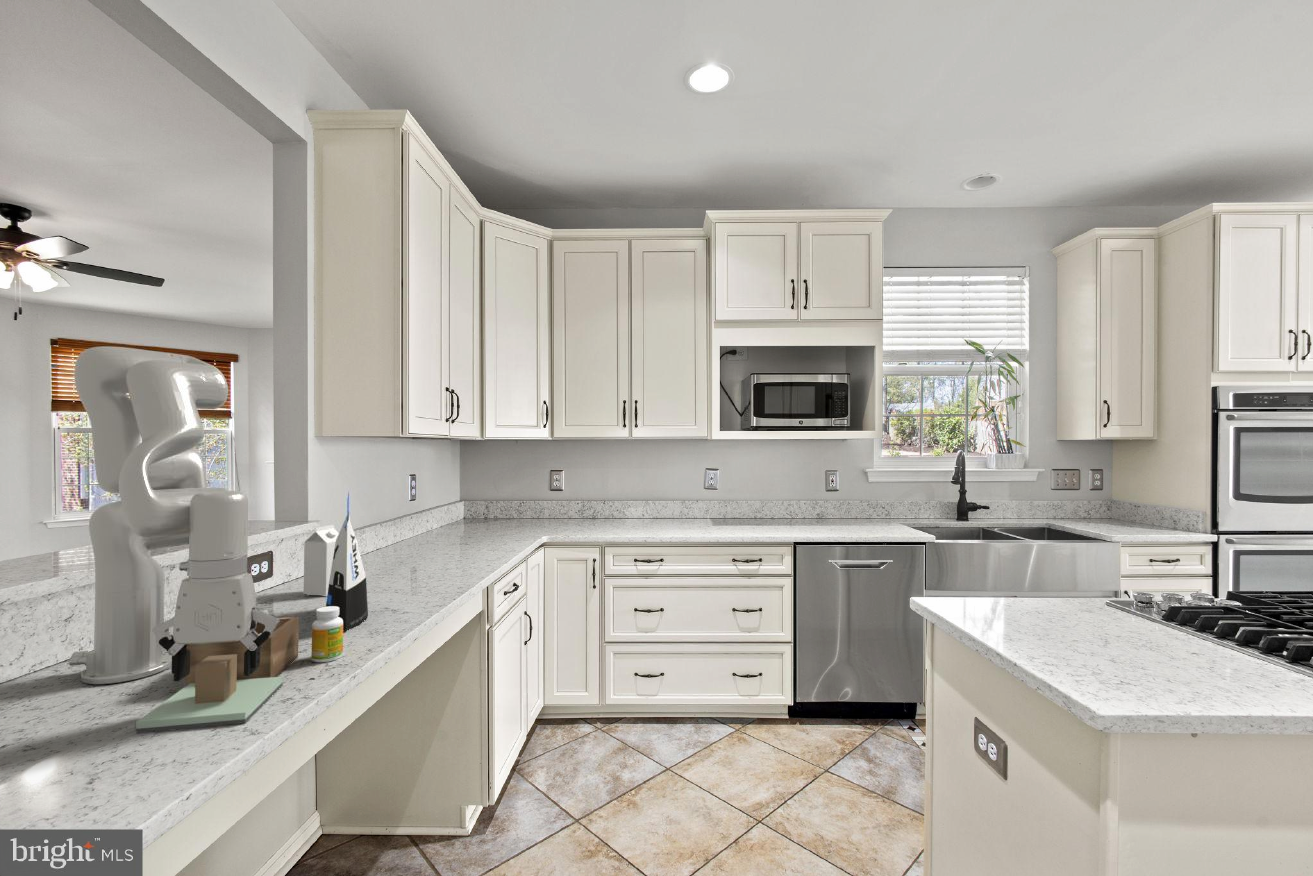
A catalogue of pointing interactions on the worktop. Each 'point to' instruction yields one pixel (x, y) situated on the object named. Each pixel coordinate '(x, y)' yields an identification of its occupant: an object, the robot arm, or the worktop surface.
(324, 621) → the supplement bottle
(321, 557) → the milk carton
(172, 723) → the lid
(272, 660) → the storage box
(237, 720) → the rubber mat
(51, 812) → the worktop surface
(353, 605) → the protein powder
